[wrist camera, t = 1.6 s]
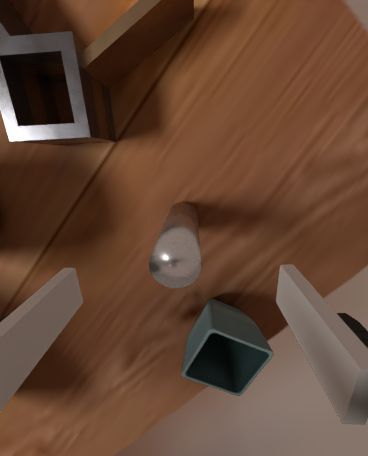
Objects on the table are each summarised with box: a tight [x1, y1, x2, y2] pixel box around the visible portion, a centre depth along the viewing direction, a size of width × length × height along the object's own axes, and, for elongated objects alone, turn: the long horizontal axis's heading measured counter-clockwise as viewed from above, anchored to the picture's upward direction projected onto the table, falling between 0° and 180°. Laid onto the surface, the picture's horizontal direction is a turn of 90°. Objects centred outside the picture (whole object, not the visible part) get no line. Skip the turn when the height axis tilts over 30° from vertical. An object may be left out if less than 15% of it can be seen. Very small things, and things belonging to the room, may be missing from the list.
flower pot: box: [181, 299, 273, 396], centre depth 30 cm, size 9×9×9 cm
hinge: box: [0, 0, 194, 145], centre depth 20 cm, size 22×18×7 cm
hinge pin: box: [149, 202, 201, 288], centre depth 23 cm, size 4×4×14 cm
